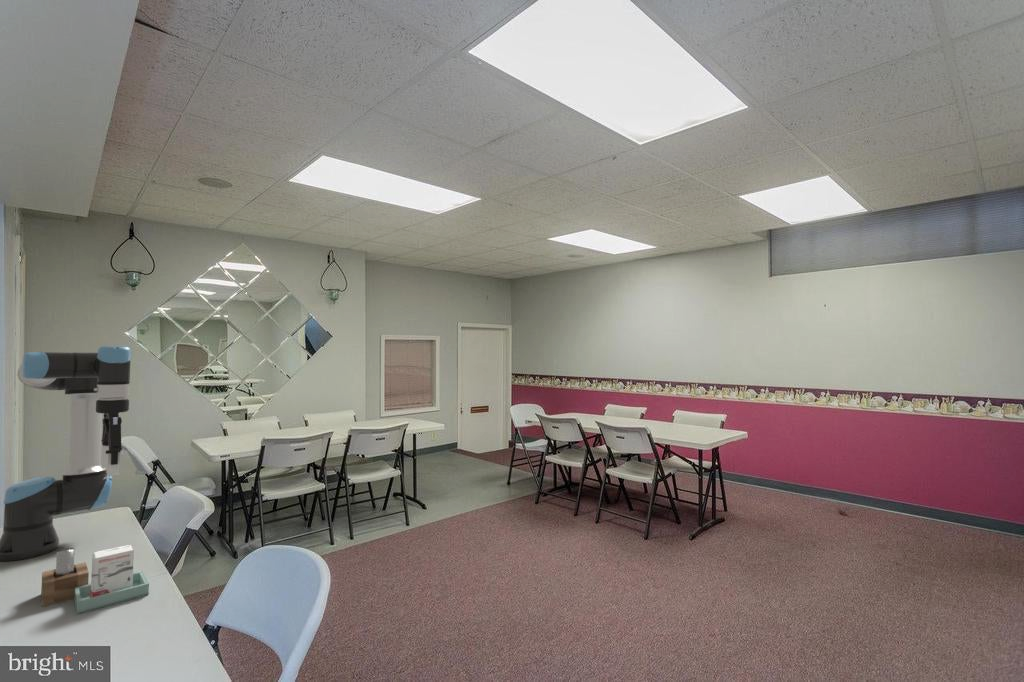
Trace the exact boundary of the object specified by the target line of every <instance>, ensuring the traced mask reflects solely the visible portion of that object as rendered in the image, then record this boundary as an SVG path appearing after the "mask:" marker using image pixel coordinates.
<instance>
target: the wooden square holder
mask: <svg viewBox="0 0 1024 682" xmlns="http://www.w3.org/2000/svg"><path fill="white" fill-rule="evenodd" d="M89 574H90V573H89V569H88V566H87V562H82V563H76V564H74V573H73V574H69V575H64V576H60V577H56V568H55V569H50V570H46V571H42V572H41V594H40V595H41V607H46V606H50V605H53V604H57V603H62V602H66V601H69V600H73V599H74V594H75V588H77V587H81V586H85V585H89V577H90V575H89Z"/></svg>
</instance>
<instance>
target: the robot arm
mask: <svg viewBox="0 0 1024 682" xmlns="http://www.w3.org/2000/svg"><path fill="white" fill-rule="evenodd" d="M131 353H132V351H131V348H130V347H128V346H107V345H106V346H105V345H104V346H100V347H99V348H98V350H97V352H59V351H58V352H54V351H53V352H52V351H51V352H46V351H35V352H33V351H31V352H25V353H24V354H23V355H22V361H21V363H22V364H20V365H19V366H20V367H18V370H17V376H18V380H19V381H20V382H21V383H23V385H25V386H27V387H30V388H34V389H38V390H42V391H43V390H44V391H64V396H65V397H66V398H68V399H69V400H70V406H69V407H70V409H69V410H70V411H69V413H70V414H69V446H68V447H69V448H68V451H69V453H68V469H66V471H64V472H63V473H62V478H61V479H58V480H57V479H56V478H55V477H54V476H41V477H36V478H35V477H34V478H32V479H31V478H29V479H27V480H23V481H20V482H17V483H15V484H12V485H10V486H8V487H7V488H6V490H5V492H4V500H3V504H4V512H3V514H4V515H3V529H2V534H1V536H0V562H10V561H11V562H12V561H19V560H25V559H29V558H34V557H38V556H43V555H45V554H47V553H51V552H52V551H54V550H56V549H58V547H59V546H60V538H59V536H58V533H57V531H56V529H55V525H54V520H53V519H54V516H59V515H60V516H61V515H65V514H69V513H77V512H81V511H91V510H94V509H97V508H102V507H104V506H106V504H107V503H108V501H109V499H110V496H111V491H112V487H113V486H112V485H113V477H116V476H120V474H121V451H122V449H123V447H122V422H123V421H122V416H119V413H126V412H129V410H130V400H129V399H128V398H129V397H130V395H131V394H130V393H131V392H130V391H131V389H130V388H131V382H130V380H131V379H130V378H131V360H132V356H131ZM102 417H103V418H102Z"/></svg>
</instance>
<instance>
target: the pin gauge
mask: <svg viewBox="0 0 1024 682" xmlns="http://www.w3.org/2000/svg"><path fill="white" fill-rule="evenodd" d="M55 563H56V565H55V569H56V577H60V576H64V575H69V574H73V573H74V565H75V547H67V548H62V549H59V550H57V551H56V560H55Z"/></svg>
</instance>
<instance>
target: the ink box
mask: <svg viewBox="0 0 1024 682" xmlns="http://www.w3.org/2000/svg"><path fill="white" fill-rule="evenodd" d="M134 553H135V550H134V547H133V545H131V544H125V545H123V546H117V547H116V546H115V547H113V548H109V549H108V548H107V549H101V550H99V551H95V552H94V553H92V558H91V580H90V584H91V596H90V598H92V597H96V596H100V595H104V594H107V593H111V592H115V591H119V590H122V589H126V588H130V587H133V573H134V557H135V554H134Z"/></svg>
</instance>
